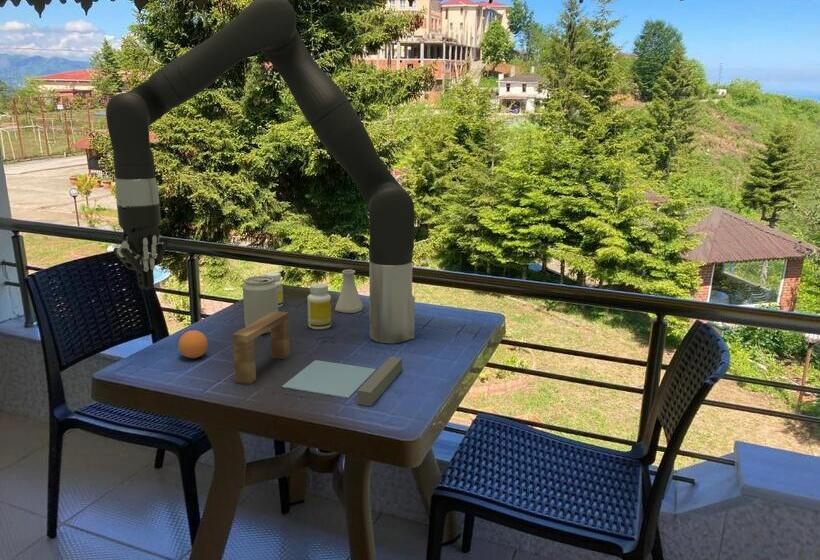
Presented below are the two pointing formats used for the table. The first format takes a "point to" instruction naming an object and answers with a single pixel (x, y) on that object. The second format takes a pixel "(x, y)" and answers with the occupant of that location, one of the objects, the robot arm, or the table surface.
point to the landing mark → (330, 378)
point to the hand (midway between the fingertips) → (146, 288)
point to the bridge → (245, 344)
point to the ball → (193, 344)
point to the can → (259, 298)
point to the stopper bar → (379, 381)
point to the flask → (349, 295)
